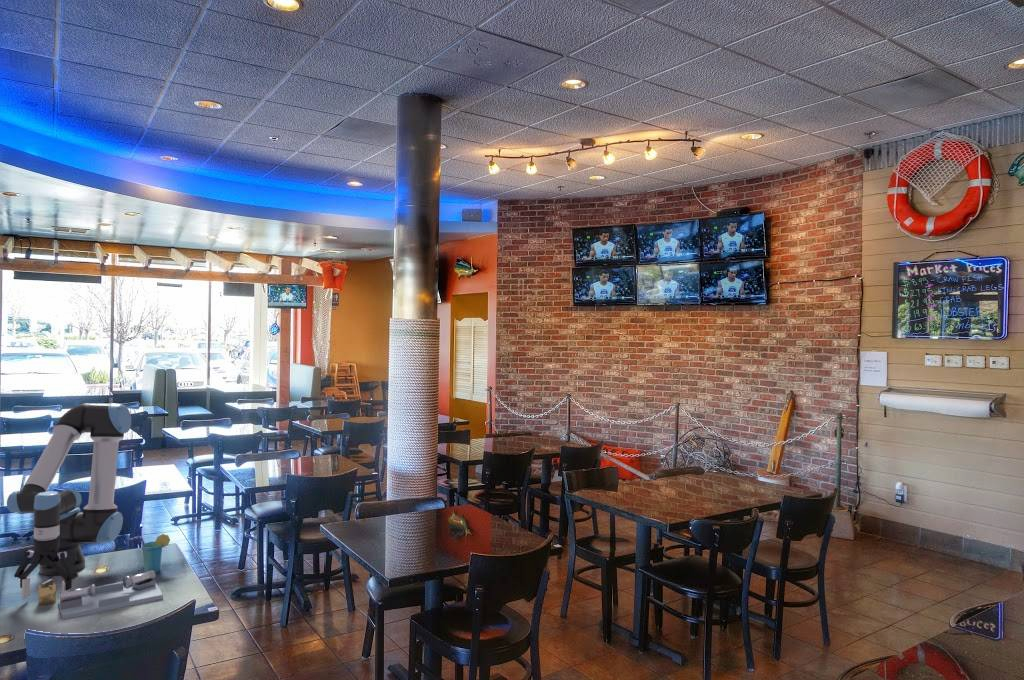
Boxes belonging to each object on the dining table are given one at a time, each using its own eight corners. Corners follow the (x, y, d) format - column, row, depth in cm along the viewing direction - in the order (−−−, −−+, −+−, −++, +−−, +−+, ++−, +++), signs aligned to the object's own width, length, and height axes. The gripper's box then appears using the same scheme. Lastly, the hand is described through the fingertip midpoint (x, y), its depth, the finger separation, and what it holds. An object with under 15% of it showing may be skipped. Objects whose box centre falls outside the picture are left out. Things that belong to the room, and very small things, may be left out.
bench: (58, 603, 241) (58, 593, 240) (154, 585, 259) (154, 575, 258) (62, 619, 229) (62, 608, 228) (162, 598, 247) (162, 588, 246)
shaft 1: (59, 600, 236) (59, 588, 236) (94, 594, 242) (94, 582, 242) (60, 605, 233) (60, 592, 233) (95, 598, 239) (95, 586, 239)
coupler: (35, 605, 239) (34, 583, 239) (45, 599, 244) (45, 578, 244) (49, 605, 239) (49, 584, 239) (59, 599, 244) (59, 579, 244)
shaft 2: (122, 590, 249) (122, 575, 249) (149, 582, 257) (149, 567, 257) (129, 594, 246) (129, 578, 246) (157, 585, 255) (157, 570, 255)
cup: (131, 578, 264) (131, 539, 264) (127, 572, 270) (127, 534, 270) (171, 571, 273) (171, 533, 272) (167, 565, 279) (167, 528, 278)
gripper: (2, 539, 237) (1, 600, 238) (75, 542, 236) (74, 603, 237) (19, 533, 245) (18, 592, 245) (89, 535, 244) (88, 595, 244)
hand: (45, 598), depth 241 cm, fingers open, 13 cm apart
